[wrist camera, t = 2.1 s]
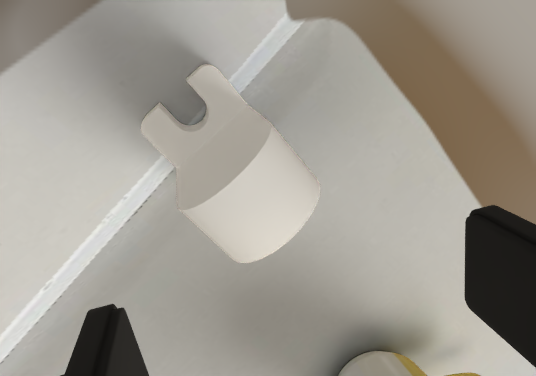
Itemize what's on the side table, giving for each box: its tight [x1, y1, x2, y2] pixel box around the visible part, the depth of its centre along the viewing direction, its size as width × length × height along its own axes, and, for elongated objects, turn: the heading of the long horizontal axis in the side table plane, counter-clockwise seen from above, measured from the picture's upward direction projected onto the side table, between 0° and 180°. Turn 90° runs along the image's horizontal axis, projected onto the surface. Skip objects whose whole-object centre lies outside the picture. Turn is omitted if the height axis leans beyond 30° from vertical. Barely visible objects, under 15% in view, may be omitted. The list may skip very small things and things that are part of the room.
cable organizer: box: [141, 64, 320, 263], centre depth 19 cm, size 5×10×10 cm, turn 40°
